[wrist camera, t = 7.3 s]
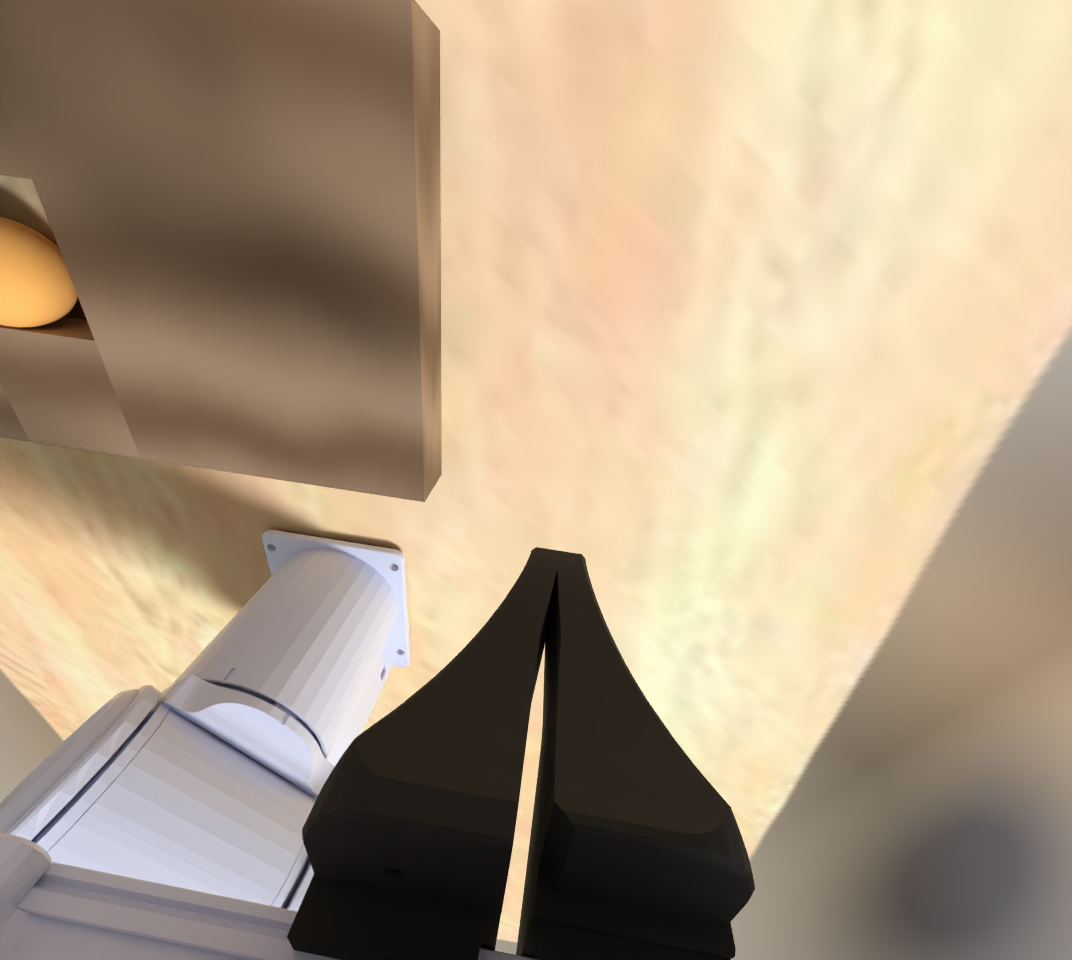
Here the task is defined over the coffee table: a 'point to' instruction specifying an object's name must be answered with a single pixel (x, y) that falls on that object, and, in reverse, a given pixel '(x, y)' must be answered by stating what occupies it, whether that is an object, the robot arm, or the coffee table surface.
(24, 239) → the ball
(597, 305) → the coffee table surface
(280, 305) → the plate
